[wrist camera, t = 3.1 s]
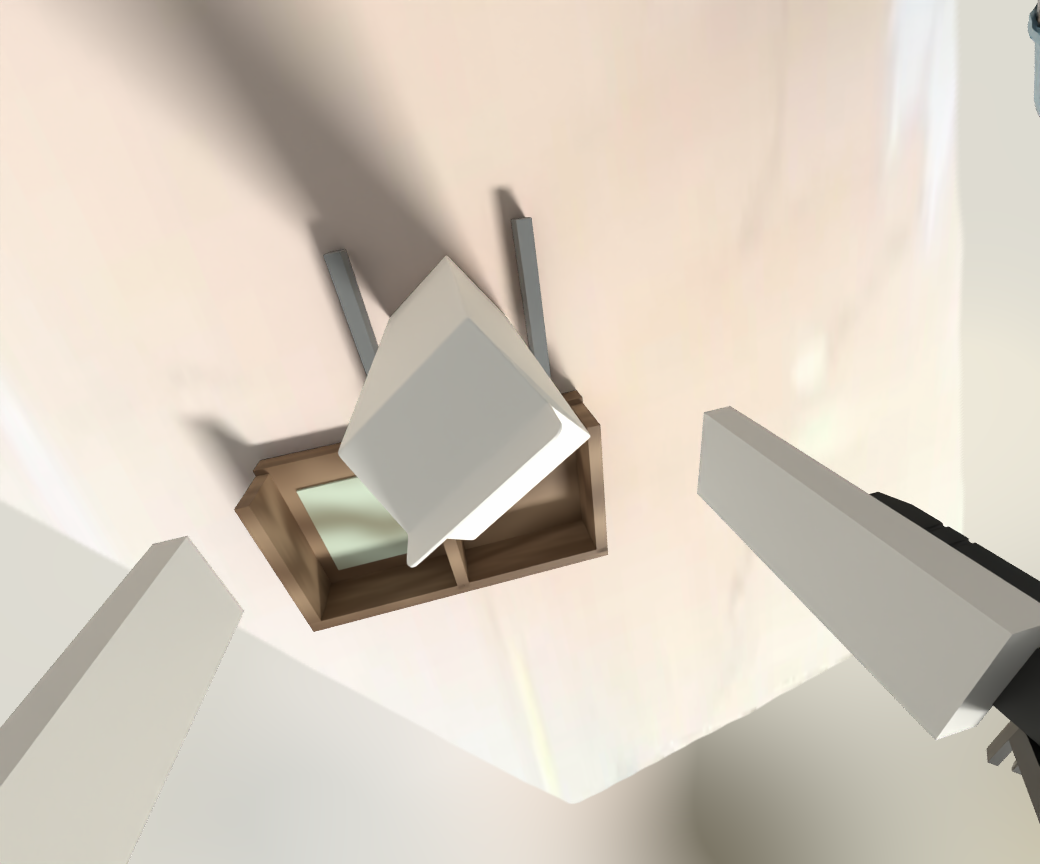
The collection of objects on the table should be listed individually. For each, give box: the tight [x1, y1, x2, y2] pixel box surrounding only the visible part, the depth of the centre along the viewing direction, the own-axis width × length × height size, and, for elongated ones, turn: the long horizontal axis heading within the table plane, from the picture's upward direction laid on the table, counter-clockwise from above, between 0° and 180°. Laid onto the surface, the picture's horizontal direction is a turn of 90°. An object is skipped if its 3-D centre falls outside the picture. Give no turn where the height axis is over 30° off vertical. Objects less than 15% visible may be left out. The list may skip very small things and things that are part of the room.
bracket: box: [323, 217, 551, 379], centre depth 29 cm, size 12×13×2 cm
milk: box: [338, 255, 590, 567], centre depth 20 cm, size 6×6×22 cm
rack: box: [234, 390, 608, 632], centre depth 34 cm, size 14×26×6 cm, turn 99°
